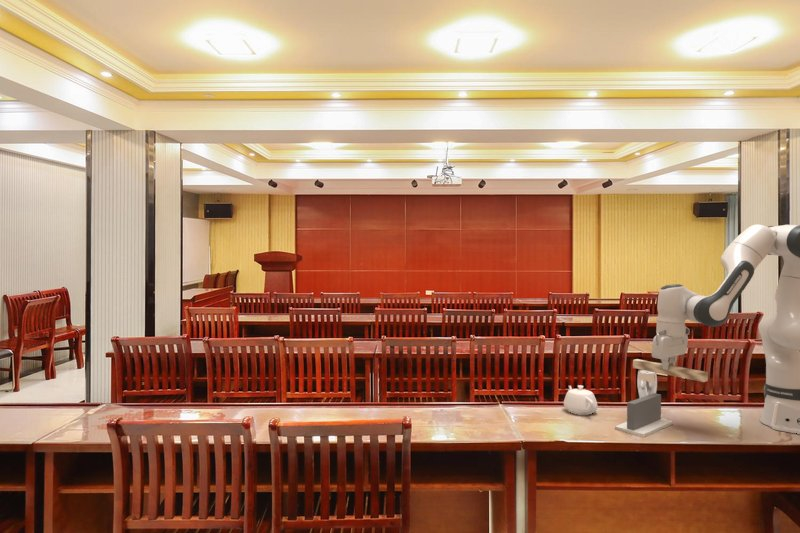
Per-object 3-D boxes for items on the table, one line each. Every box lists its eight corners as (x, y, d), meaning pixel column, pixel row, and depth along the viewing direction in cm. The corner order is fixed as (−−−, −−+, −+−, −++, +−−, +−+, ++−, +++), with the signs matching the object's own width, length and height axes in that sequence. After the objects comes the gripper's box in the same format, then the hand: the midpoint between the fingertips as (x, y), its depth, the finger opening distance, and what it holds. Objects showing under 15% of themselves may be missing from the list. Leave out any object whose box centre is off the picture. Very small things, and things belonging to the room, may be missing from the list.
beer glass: (660, 412, 190) (660, 373, 190) (642, 412, 191) (642, 373, 190) (651, 407, 197) (651, 370, 197) (633, 407, 198) (634, 369, 197)
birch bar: (707, 380, 167) (707, 372, 167) (704, 382, 165) (704, 373, 165) (636, 366, 185) (636, 359, 185) (632, 367, 183) (633, 359, 183)
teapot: (554, 404, 201) (554, 379, 201) (583, 403, 202) (583, 379, 202) (576, 420, 181) (576, 392, 181) (608, 419, 182) (608, 391, 182)
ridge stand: (673, 424, 177) (673, 396, 177) (643, 437, 163) (643, 407, 163) (644, 417, 185) (645, 390, 185) (614, 429, 171) (615, 400, 171)
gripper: (666, 333, 166) (664, 373, 166) (691, 329, 178) (690, 367, 179) (647, 330, 171) (645, 370, 171) (673, 327, 183) (671, 363, 184)
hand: (668, 368), depth 175 cm, fingers closed on birch bar, 3 cm apart
